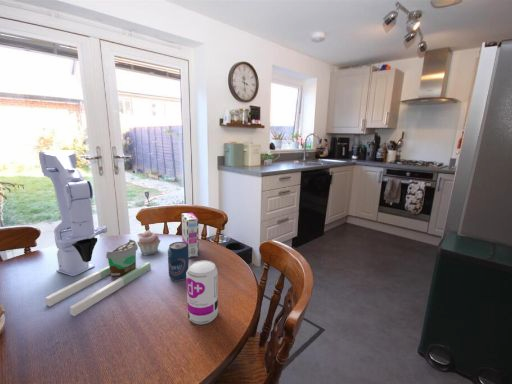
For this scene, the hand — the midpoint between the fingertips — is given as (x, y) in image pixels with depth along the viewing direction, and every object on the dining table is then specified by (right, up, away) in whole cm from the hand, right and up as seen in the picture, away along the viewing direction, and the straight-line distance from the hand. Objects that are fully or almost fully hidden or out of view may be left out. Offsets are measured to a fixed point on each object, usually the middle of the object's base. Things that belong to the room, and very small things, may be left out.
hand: (86, 260), depth 80 cm
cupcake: (+8, -4, +28) cm, 30 cm away
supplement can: (+39, -13, -10) cm, 42 cm away
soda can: (+26, -8, +10) cm, 29 cm away
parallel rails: (+4, -9, +4) cm, 10 cm away
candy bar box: (+26, -4, +29) cm, 39 cm away
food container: (+7, -7, +12) cm, 16 cm away
